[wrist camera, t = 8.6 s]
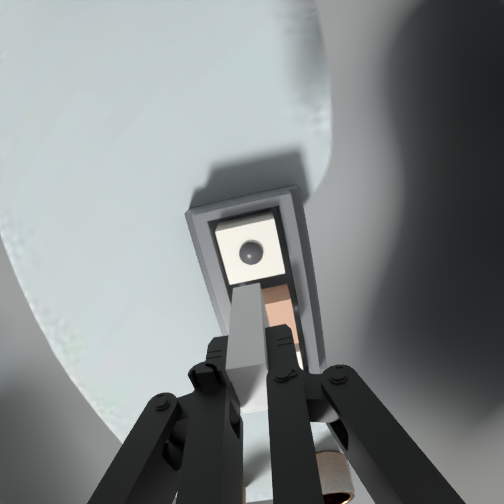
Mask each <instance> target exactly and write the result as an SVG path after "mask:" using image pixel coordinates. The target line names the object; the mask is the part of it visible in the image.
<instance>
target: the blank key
mask: <svg viewBox="0 0 504 504" xmlns="http://www.w3.org/2000/svg"><path fill="white" fill-rule="evenodd" d="M261 291H262V295H263V299H264V303H265V307H266V311H267V315H268V320H269V325H270V327H272V326H277V325H282V324H287V325H288V326H289V327H290V328H291V330H292V334H293V339H294V344H297V343H299V341H298V335H297V330H296V324H295V319H294V314H293V308H292V303H291V298H290V294H289V290H288V286H287V284H284V285H280V286H275V287H270V288H265V289H261Z"/></svg>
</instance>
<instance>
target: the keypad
mask: <svg viewBox="0 0 504 504" xmlns="http://www.w3.org/2000/svg"><path fill="white" fill-rule="evenodd" d="M268 211H272V214H273V217H274V221H275V225H276V230H277V235H278V240H279V245H280V249H281V254H282V259H283V264H284V269H285V273H284V274H279V275H275V276H270V277H265V278H260V279H256V280H251V281H246V282H241V283H236V284H231V285H230V284H229V281H228V277H227V273H226V270H225V266H224V263H223V259H222V256H221V252H220V248H219V245H218V241H217V237H216V234H215V230H216V228H217V225H218V223H219V222H224V221H228V220H232V219H237V218H241V217H246V216H250V215H255V214H259V213H264V212H268ZM185 217H186V221H187V224H188V228H189V231H190V235H191V238H192V241H193V245H194V248H195V251H196V255H197V258H198V261H199V265H200V268H201V271H202V274H203V277H204V281H205V284H206V287H207V290H208V293H209V296H210V299H211V302H212V305H213V309H214V312H215V315H216V318H217V321H218V324H219V326H220V329H221V332H222V335H223V336H227V335H229V325H230V314H231V303H232V293H233V288H236V287H241V286H246V285H251V284H256V283H260V286H261V289H265V288H270V287H275V286H280V285H284V284H287V286H288V290H289V294H290V298H291V303H292V308H293V314H294V319H295V324H296V330H297V335H298V341H299V343H298V344H299V349H300V354H301V359H302V365H303V370H304V371H305V372H308V373H311V374H320V369H322V368H326V367H327V366H326V356H325V349H324V339H323V331H322V323H321V316H320V308H319V301H318V294H317V287H316V280H315V273H314V268H313V261H312V254H311V248H310V242H309V237H308V230H307V225H306V219H305V214H304V208H303V203H302V197H301V192H300V188H299V187H298V186H297V185H293V186H288V187H283V188H278V189H274V190H269V191H264V192H260V193H255V194H251V195H246V196H242V197H237V198H233V199H229V200H224V201H220V202H216V203H212V204H208V205H204V206H199V207H195V208H191V209H188V210H187V212H186V213H185Z"/></svg>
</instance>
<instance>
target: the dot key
mask: <svg viewBox="0 0 504 504" xmlns="http://www.w3.org/2000/svg"><path fill="white" fill-rule="evenodd" d="M215 234H216V237H217V241H218V245H219V248H220V252H221V256H222V259H223V263H224V266H225V270H226V273H227V277H228V281H229V284H230V285H231V284H236V283H241V282H246V281H251V280H256V279H260V278H265V277H270V276H275V275H279V274H284V273H285V269H284V264H283V259H282V254H281V249H280V245H279V240H278V235H277V230H276V225H275V221H274V217H273V214H272V211H268V212H264V213H259V214H255V215H250V216H246V217H241V218H237V219H232V220H228V221H224V222H219V223H218V225H217V228H216V230H215Z"/></svg>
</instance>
